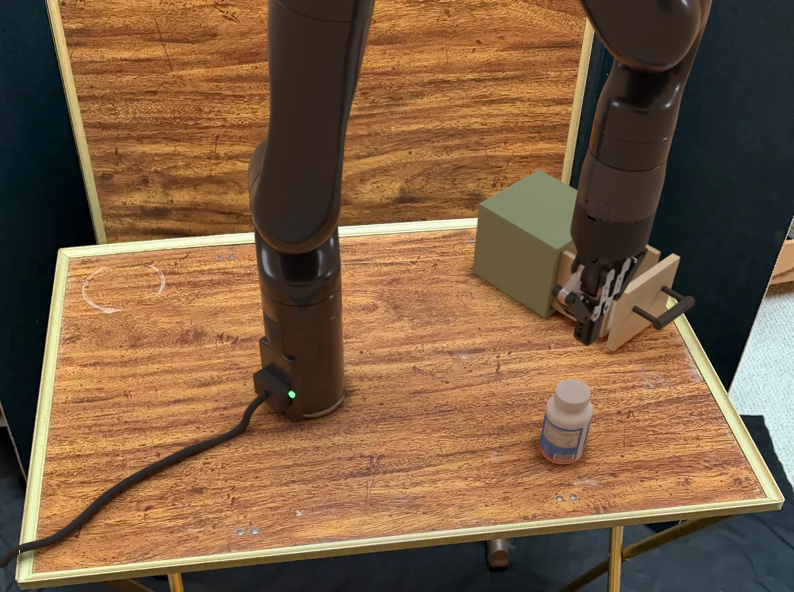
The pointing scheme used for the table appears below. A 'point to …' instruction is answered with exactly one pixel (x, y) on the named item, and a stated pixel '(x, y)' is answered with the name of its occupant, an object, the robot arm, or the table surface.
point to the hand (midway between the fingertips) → (585, 339)
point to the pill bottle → (566, 422)
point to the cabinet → (525, 238)
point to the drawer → (634, 297)
